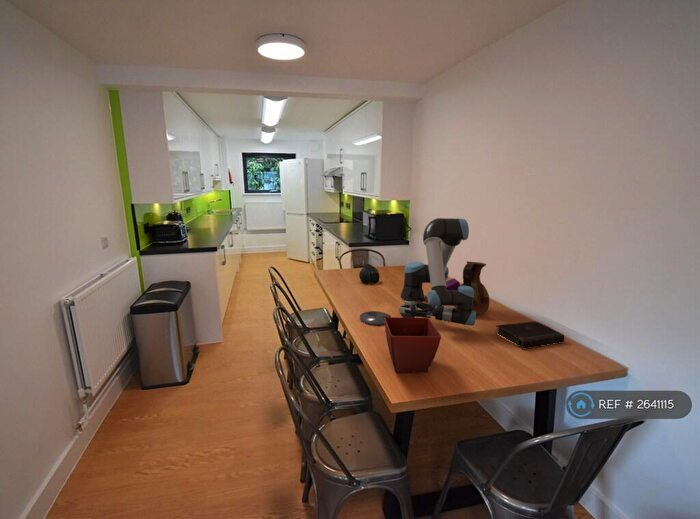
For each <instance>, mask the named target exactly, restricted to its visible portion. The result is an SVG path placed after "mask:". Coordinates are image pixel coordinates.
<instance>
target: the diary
mask: <svg viewBox="0 0 700 519" xmlns="http://www.w3.org/2000/svg"><path fill="white" fill-rule="evenodd" d="M495 327H497V328H498V329H497V330H498V331H497V333H498V334H499V335H501V336H503V337H505V338H506V339H508V340H510V341H512V342H514V343H516V344H517V345H520V346H521V347H520V346H519V347H520V348H528V349H530V348H529V347H533V348H535V347H534V346H540V347H542V346H541V345H546V346H548V345H547V344H551V345H554V344H553V343H558V344H560V343H559V342H563V343H564V342H565V334H564V333H562V332H559V331H557V330H555V329H553V328H552V327H550V326H547V325H545V324H543V323H541V322H538V321H536V320H534V321H533V320H532V321H526V322H519V323H506V324H498V325H495ZM514 343H513V344H514ZM517 345H516V346H517ZM522 346H523V347H522Z"/></svg>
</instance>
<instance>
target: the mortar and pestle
mask: <svg viewBox="0 0 700 519" xmlns="http://www.w3.org/2000/svg"><path fill="white" fill-rule="evenodd" d="M410 302H411V301H410ZM417 303H418V302H415V301H412V302H411V305H404V304H401V305H400V306H399V307H403V308H409V309H411V308H412V310H419V308H417V307H416V304H417ZM399 315H400V316H401V317H402V318H415V317H413V316H411V314H406V313H401V312H399Z"/></svg>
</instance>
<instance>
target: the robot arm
mask: <svg viewBox="0 0 700 519" xmlns="http://www.w3.org/2000/svg"><path fill="white" fill-rule="evenodd" d="M468 223H469V222H468V221H467V220H466V219H465V218H456V217H455V218H451V217H450V218H447V217H446V218H441V217H438V218H434V219H433V220H431V221H429V223H428V224H426V226H425V229H424V231H423V233H422V234H423V235H422V241H423V245H424V246H425V248H426V258H427V264H424V263H423V262H422V261H412V262H408V263H406V265H405V266H404V277H403V278H404V281H403V283H404V284H403V287H402V291H401V293H400V299H401V298H402V300H403V299H404V300H403V301H404V302H403V305H411V302H412V301H415V302H416V303H417V304H416V307H417V308H418V310H412V308H411V309H409V308H403V307H400V306H398V313H400V312H401V313H406V314H411V316H413V317H414V318H429V319H431V318H432V317H434V319H435V320H436V321H441V322H442V321H443V322H446V323H447V322H448V323H454V324H459V325H464V326H470V327H472V326H473V327H474V325H475V324H476V319H477V315H476V312H475V311H473V310H472V305H473V298H474V289H473V288H472V287H470V286H461V285H460V286H459V287H458V290H447V286H446V281H448V277H449V272H450V271H449V267H448V264H449V261H450V259H451V257H452V255H453V253H454V251H455V248H456V247H457V246H459V245H460V244H461V242H462V241H466V240H468V238H469V235H470V234H469V233H470V229H469V224H468ZM423 284H430V288H431V289H430V290H429V291H428V292H427V302H428V303H426V302H423V301H424V300H425V293H424V289H423ZM454 306H456V308H455V307H454Z"/></svg>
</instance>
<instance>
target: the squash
mask: <svg viewBox="0 0 700 519" xmlns="http://www.w3.org/2000/svg"><path fill="white" fill-rule="evenodd" d="M380 277H381V276H380V272H379V270H378V268H376V267H375V266H373V265H372V264H370V263H366V264H365V265H364V266H363V267H362V268H361V269H360V270H359V276H358V278H359V280H360V282H361V283H363V284H365V285H369V284H374V285H375V284H377V283H379V281H380Z"/></svg>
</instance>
